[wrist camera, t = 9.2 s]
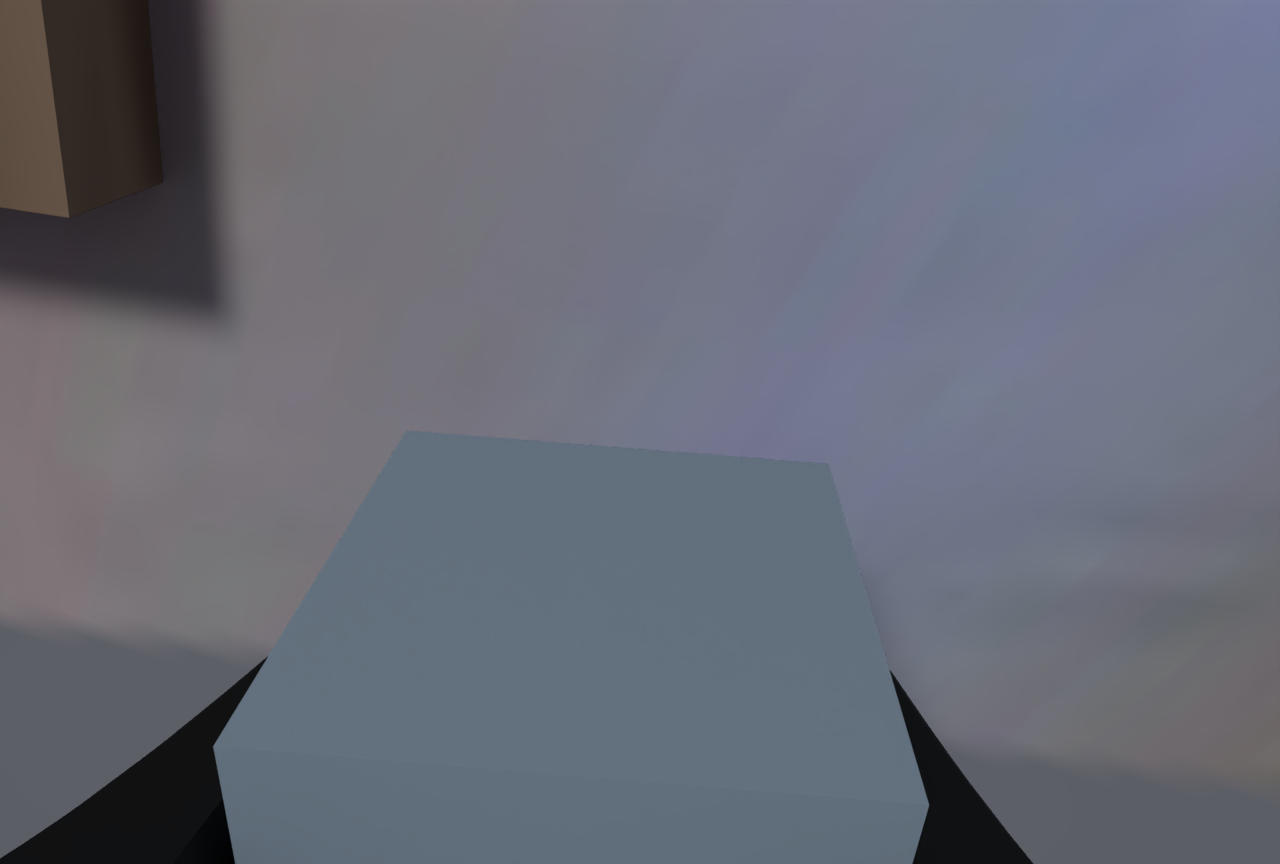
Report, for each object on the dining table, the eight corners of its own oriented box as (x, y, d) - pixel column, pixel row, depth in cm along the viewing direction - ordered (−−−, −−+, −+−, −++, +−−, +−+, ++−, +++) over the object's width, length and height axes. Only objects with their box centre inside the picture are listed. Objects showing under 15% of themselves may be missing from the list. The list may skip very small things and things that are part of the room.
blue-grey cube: (828, 464, 11) (929, 805, 6) (773, 773, 13) (819, 1186, 9) (406, 430, 11) (213, 747, 6) (422, 744, 13) (287, 1142, 9)
